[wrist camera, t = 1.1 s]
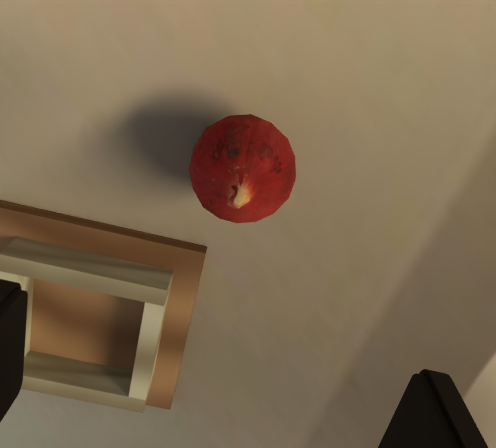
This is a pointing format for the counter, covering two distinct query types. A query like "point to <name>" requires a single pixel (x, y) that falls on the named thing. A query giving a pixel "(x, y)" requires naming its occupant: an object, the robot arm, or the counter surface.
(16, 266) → the holder
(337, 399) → the counter surface
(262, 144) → the onion
